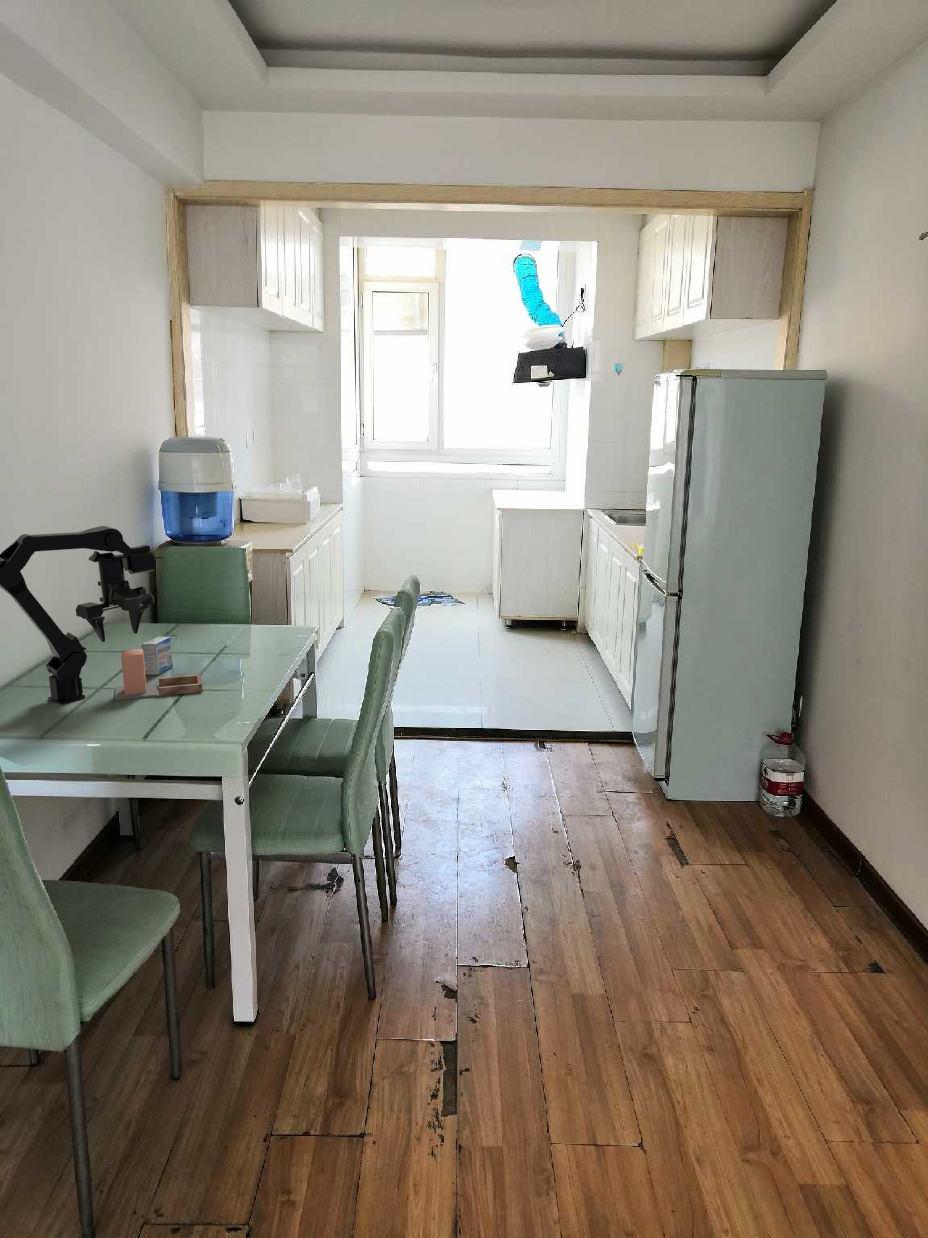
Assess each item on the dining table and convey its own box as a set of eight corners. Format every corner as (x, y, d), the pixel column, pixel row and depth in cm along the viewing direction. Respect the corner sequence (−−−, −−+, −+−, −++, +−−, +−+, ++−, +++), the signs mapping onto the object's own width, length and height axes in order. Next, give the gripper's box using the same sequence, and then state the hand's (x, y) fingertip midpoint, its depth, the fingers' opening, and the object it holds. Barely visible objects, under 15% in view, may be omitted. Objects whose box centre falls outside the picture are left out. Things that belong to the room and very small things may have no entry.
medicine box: (158, 675, 248) (156, 644, 246) (143, 674, 249) (140, 643, 247) (173, 667, 256) (171, 636, 254) (158, 666, 257) (156, 636, 255)
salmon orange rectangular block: (124, 694, 231) (121, 655, 229) (125, 688, 236) (122, 650, 233) (146, 692, 233) (142, 654, 230) (146, 686, 237) (143, 649, 235)
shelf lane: (159, 695, 232) (158, 688, 231) (159, 685, 240) (158, 677, 240) (202, 691, 235) (202, 684, 234) (201, 681, 243) (200, 674, 243)
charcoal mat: (113, 700, 228) (113, 698, 228) (116, 688, 238) (115, 686, 237) (156, 696, 231) (156, 694, 231) (157, 684, 240) (157, 683, 240)
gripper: (97, 587, 220) (105, 651, 224) (163, 573, 234) (170, 633, 238) (70, 582, 226) (78, 644, 230) (137, 569, 241) (144, 627, 245)
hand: (119, 637), depth 236 cm, fingers open, 9 cm apart
